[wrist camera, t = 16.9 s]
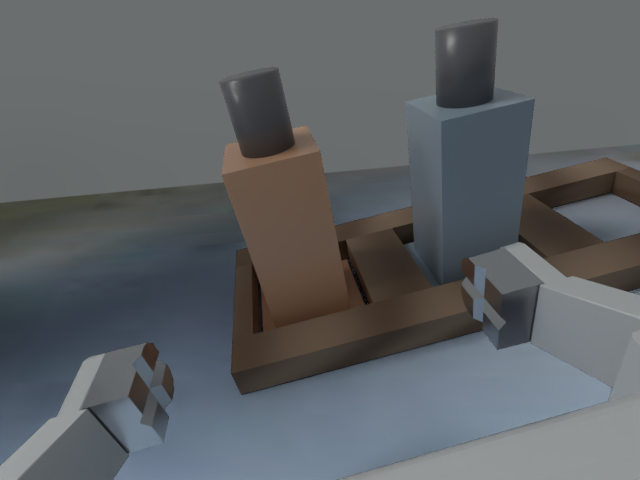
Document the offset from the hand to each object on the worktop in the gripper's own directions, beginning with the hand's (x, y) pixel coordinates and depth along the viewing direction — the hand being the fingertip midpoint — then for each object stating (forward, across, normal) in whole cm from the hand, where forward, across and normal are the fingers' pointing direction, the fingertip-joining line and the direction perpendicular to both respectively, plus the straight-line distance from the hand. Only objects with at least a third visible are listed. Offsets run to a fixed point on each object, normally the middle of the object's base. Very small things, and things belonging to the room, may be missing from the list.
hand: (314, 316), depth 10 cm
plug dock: (+9, -9, +7) cm, 15 cm away
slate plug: (+9, -9, +7) cm, 15 cm away
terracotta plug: (+9, 0, +7) cm, 12 cm away
